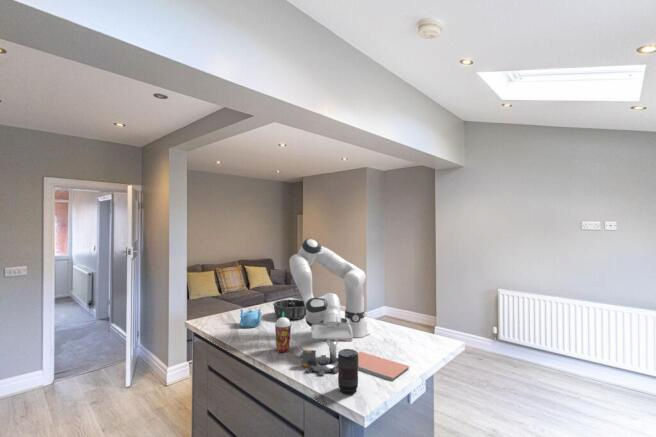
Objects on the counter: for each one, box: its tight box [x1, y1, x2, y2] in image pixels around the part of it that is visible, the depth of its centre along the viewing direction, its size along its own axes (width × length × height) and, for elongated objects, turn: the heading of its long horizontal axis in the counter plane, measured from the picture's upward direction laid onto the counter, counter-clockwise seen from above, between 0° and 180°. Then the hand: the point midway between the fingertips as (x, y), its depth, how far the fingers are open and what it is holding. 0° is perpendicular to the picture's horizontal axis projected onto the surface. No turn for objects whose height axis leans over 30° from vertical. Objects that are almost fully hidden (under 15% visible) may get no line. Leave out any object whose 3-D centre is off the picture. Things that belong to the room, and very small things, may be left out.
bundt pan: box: [272, 299, 306, 321], centre depth 234 cm, size 26×26×10 cm
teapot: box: [239, 307, 263, 329], centre depth 212 cm, size 15×15×10 cm
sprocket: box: [302, 341, 339, 376], centre depth 151 cm, size 18×18×10 cm
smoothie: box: [274, 312, 292, 354], centre depth 169 cm, size 8×8×20 cm
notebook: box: [357, 351, 410, 382], centre depth 151 cm, size 27×17×2 cm, turn 51°
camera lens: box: [337, 348, 359, 396], centre depth 129 cm, size 8×8×15 cm
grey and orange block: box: [301, 349, 317, 365], centre depth 151 cm, size 3×6×5 cm, turn 88°
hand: (332, 349), depth 154 cm, fingers closed, pressing on sprocket
